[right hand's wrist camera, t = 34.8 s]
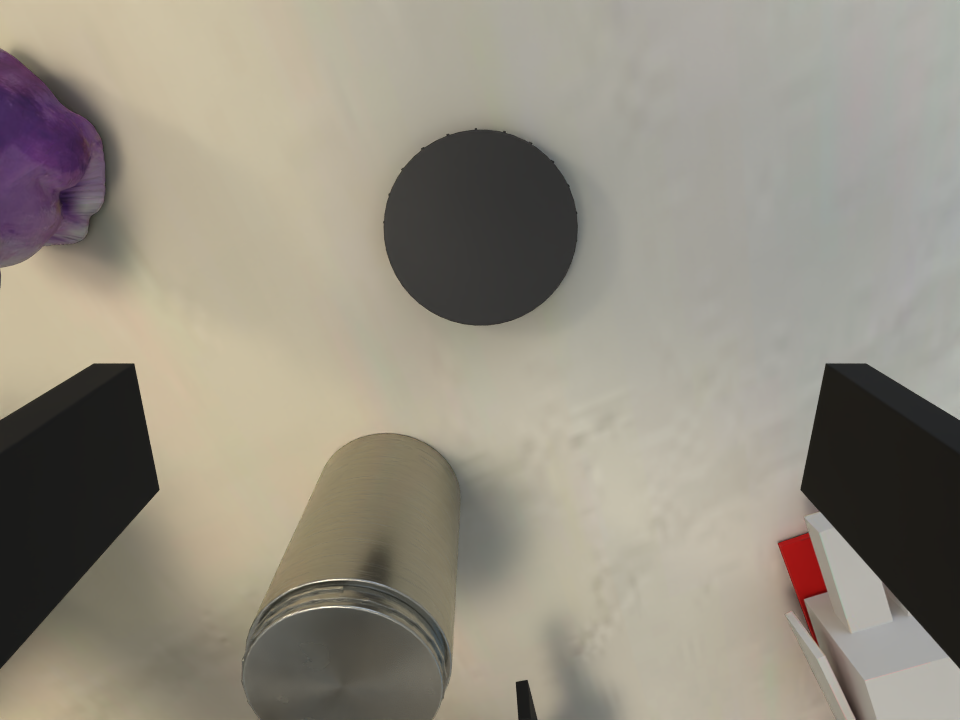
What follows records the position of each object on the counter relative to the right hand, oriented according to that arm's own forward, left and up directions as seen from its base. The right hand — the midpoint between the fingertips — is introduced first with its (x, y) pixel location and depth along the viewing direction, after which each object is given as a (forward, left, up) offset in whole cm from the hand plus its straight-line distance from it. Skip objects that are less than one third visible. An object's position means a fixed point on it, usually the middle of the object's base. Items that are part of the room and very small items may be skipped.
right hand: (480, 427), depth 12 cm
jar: (+3, -19, -27) cm, 33 cm away
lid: (0, 0, -26) cm, 26 cm away
